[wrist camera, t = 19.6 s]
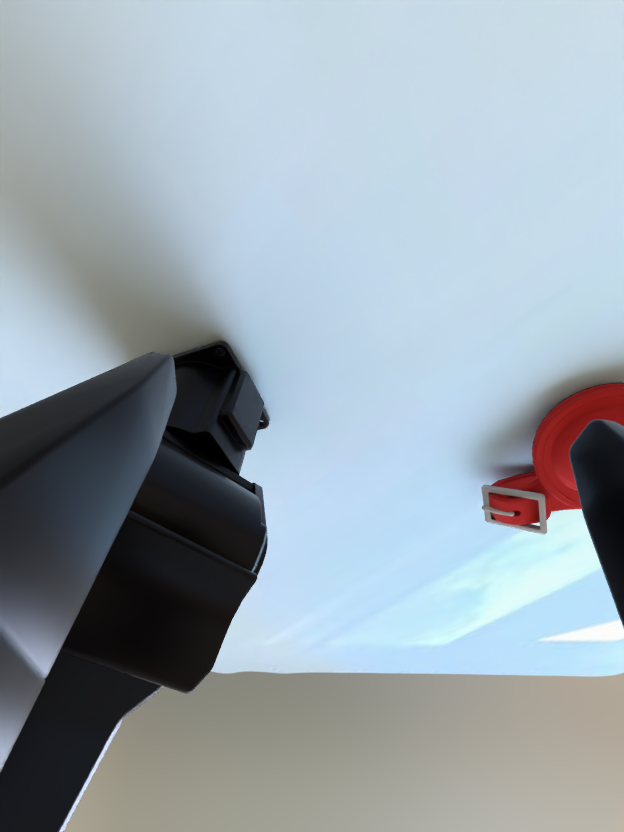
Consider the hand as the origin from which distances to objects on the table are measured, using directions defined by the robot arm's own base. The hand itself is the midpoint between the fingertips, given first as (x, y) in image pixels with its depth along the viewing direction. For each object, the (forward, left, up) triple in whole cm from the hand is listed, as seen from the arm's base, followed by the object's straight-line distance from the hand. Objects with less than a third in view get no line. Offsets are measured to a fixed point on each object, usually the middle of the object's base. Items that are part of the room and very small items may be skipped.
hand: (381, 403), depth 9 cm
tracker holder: (+9, -17, -13) cm, 23 cm away
